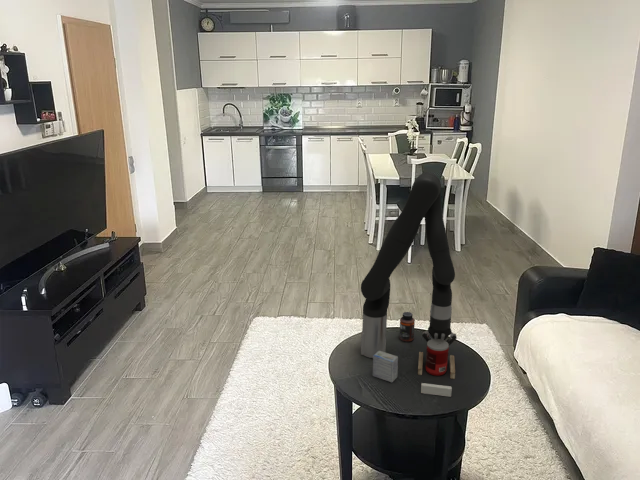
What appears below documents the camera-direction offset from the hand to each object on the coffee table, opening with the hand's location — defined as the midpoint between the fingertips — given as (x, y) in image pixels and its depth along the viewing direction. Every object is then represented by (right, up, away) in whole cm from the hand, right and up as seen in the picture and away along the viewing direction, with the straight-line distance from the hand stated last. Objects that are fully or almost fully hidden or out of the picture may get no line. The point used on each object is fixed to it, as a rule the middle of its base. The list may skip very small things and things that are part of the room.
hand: (437, 356), depth 191 cm
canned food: (-2, -5, -4) cm, 6 cm away
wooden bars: (-1, -4, -2) cm, 5 cm away
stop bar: (-5, -9, -17) cm, 20 cm away
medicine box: (-21, -6, -8) cm, 23 cm away
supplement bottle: (-9, +3, +19) cm, 21 cm away
